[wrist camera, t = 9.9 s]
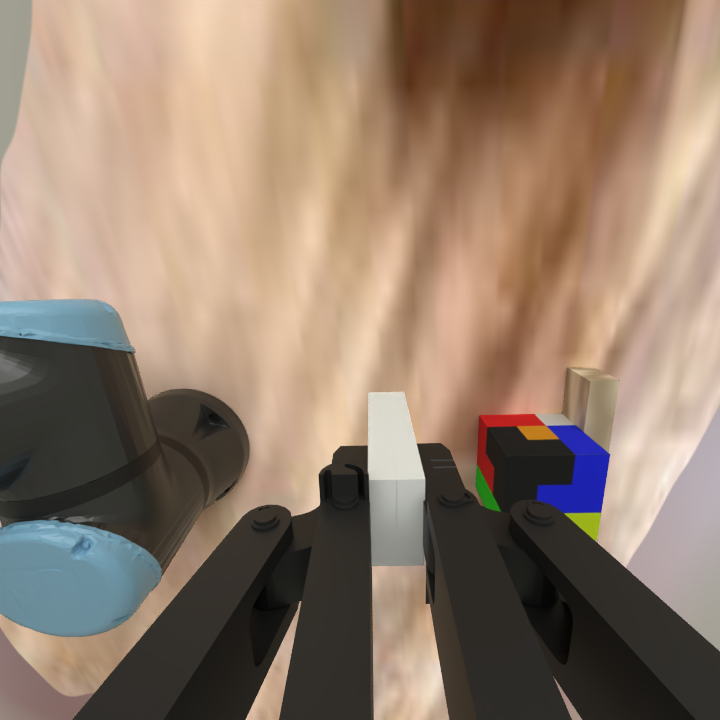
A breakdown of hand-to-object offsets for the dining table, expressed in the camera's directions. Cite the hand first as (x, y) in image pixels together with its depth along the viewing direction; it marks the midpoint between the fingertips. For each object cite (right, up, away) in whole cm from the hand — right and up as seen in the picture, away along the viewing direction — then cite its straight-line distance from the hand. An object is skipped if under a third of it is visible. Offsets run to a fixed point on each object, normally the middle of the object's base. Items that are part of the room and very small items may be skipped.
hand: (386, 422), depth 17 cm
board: (+25, -9, +32) cm, 42 cm away
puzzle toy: (+19, -9, +33) cm, 39 cm away
